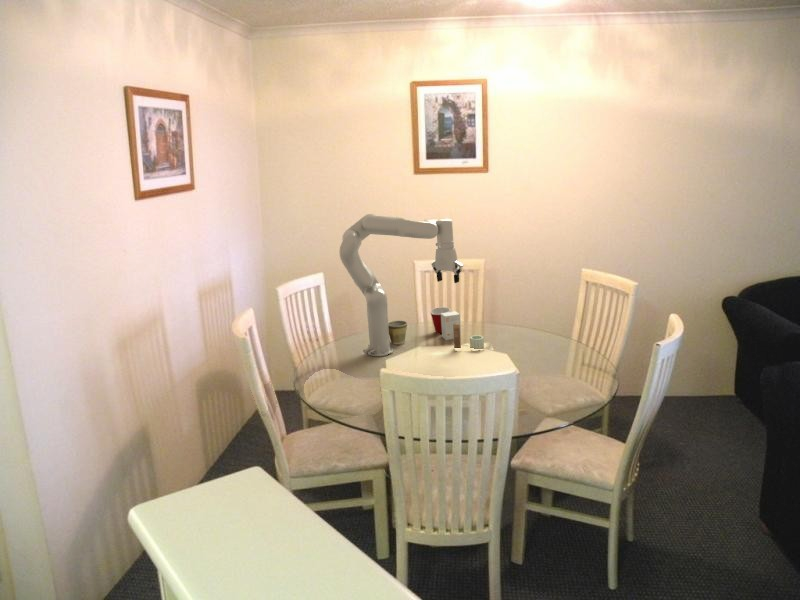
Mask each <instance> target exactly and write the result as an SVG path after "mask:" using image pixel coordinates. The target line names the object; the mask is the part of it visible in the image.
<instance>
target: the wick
mask: <svg viewBox="0 0 800 600" xmlns="http://www.w3.org/2000/svg"><path fill="white" fill-rule="evenodd" d="M460 328H461V323H460V324H459V323H455V324H453V331H454V339H453V344H454V347H453V349H454V348H461V345H460V344H461V338H460Z"/></svg>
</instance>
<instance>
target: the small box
mask: <svg viewBox="0 0 800 600" xmlns="http://www.w3.org/2000/svg"><path fill="white" fill-rule="evenodd" d="M455 323H459V324H460V325H461V315H460V313H459V312H458V311H456V310H455V311H450V312H447V313H441V326H442V334H441V337H442V338H443V339H444V340H445V341H449V340H454V331H453V324H455ZM461 333H462V332H461V327H460V339H462V335H461Z"/></svg>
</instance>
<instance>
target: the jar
mask: <svg viewBox="0 0 800 600" xmlns="http://www.w3.org/2000/svg"><path fill="white" fill-rule="evenodd" d="M469 343H470V348H474V349H483V348H484V343H485V336H483V335H479V334H477V335H476V334H475V335H471V336H469Z"/></svg>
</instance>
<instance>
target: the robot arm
mask: <svg viewBox="0 0 800 600" xmlns="http://www.w3.org/2000/svg"><path fill="white" fill-rule="evenodd" d="M370 235H378V236H381V235H382V236H392V237H402V238H411V239H423V240H429V239H431V240H432V239H434V238H436V243H435V246H436V247H437V248H436V249H435V259H434V260H435V261H433V262H431V263H430V264H431V267H432V270H433V272H434V273H435V274H436V282H438V283H439V282H441V281H443V273H442V271H445V272H452V273H453V282H454V284H457V283H459V282H460V274H461V272H462V270H463V268H464V265H463V264H462V263H461V262H459V261H458V256H457V250H456V248H455V246H454V245H455V243H454V242H455V241H454V229H453V221H452V219H450V218H441V219H424V220H422V221H415V220H409V219H405V218H404V217H403V218H402V217H399V216H383V215H375V214H373V213H367V214H365V215H364V216H363V217H361V218H360V219H359V220H357V221H356V222H355V223H354V224H353V225H351V226H350V227H348V228H347V229H346V230H345V231H344V232H343V234H342V241H341V244H340V246H339V258H340V261H341V263H342V264H343V267H344V268H345V269H346V271H347V273H348V274H349V276H350V277H351V279H352V280H353V282H354V284H355V285H356V286H357V287H358V288H359V290H360V291H361V293H362V294H363V296H364V298H365V301H366V310H367V311H366V314H367V325H368V327H367V328H368V339H369V344H368V347H367V348H365V349H363V351H362V352H363V354H367V355H369V356H371V357H385V356H389V355H391V354H393V353H394V348H393V347H392V346H391V343H390V342H391V340H390V336H389V326H388V322H389V314H388V296H387V293H386V291H385V289H384V287H383V286H382V285H381V283H380V281H379V280H378V279H377V277H376V275H375V274H374V272H373V271H372V270H371V268H370V267H369V266H367V265H366V263H365V262H364V260H363V259H362V257H361V255H360V253H359V249H360V247H361V246H362V241H364V240H365V239H366V238H367V237H369V236H370ZM392 352H393V353H392ZM390 353H391V354H390ZM388 354H389V355H388Z"/></svg>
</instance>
